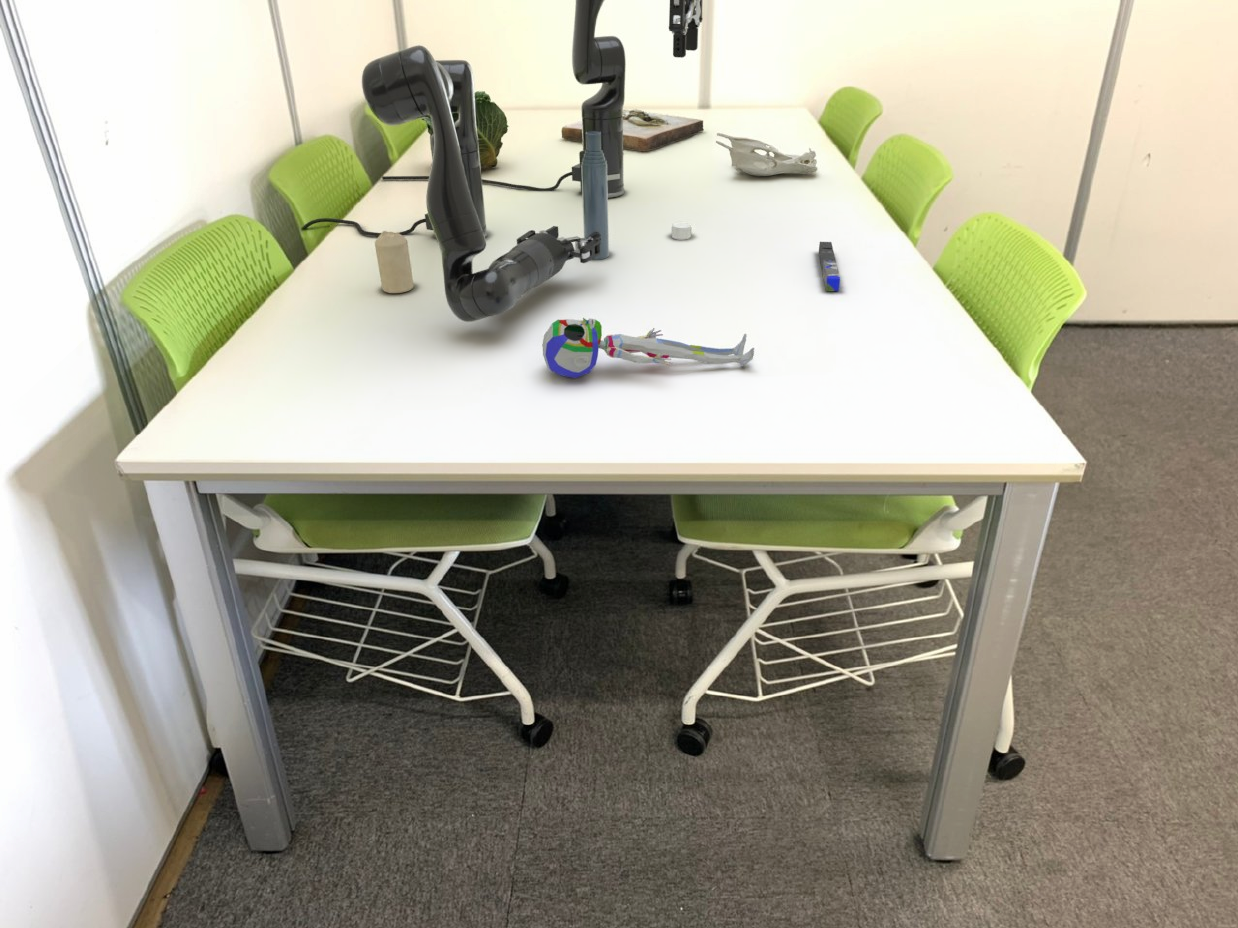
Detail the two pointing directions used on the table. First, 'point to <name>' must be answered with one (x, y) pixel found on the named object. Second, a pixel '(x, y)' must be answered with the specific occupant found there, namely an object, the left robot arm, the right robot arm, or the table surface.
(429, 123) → the vegetable
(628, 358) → the toy
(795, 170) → the anatomical model
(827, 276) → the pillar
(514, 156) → the table surface
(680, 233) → the cap
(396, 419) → the table surface
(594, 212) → the bottle
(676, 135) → the plaque
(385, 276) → the candle
